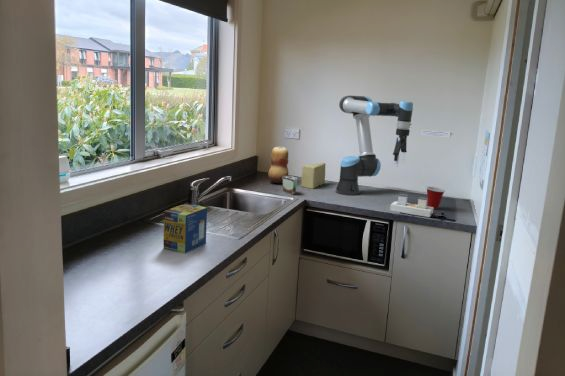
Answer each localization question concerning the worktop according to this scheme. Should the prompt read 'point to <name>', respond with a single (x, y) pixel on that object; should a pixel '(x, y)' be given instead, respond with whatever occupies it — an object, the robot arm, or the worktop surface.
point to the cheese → (313, 175)
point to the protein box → (185, 227)
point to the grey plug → (402, 199)
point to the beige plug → (422, 203)
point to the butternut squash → (278, 164)
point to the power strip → (413, 209)
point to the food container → (289, 184)
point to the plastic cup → (434, 196)
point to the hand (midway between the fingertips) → (398, 164)
